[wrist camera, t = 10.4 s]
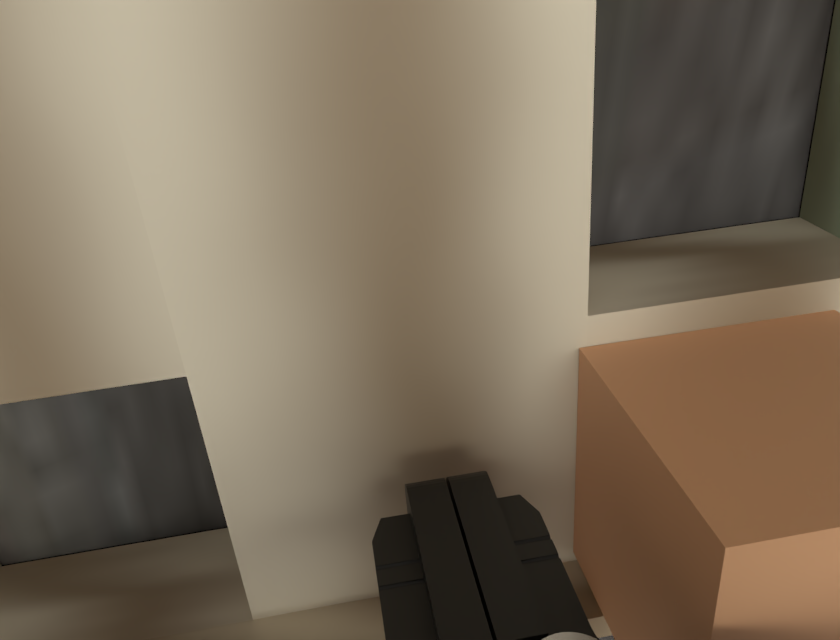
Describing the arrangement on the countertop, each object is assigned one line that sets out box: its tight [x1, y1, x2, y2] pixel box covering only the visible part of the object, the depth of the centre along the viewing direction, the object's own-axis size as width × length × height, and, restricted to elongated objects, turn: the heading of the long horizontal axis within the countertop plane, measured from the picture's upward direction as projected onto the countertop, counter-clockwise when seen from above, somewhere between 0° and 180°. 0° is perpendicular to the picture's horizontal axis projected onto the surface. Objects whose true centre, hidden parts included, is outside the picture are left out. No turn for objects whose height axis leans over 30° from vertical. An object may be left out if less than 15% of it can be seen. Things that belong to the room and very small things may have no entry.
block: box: [573, 310, 840, 640], centre depth 12 cm, size 5×5×5 cm
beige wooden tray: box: [0, 0, 840, 640], centre depth 13 cm, size 27×13×4 cm, turn 95°
